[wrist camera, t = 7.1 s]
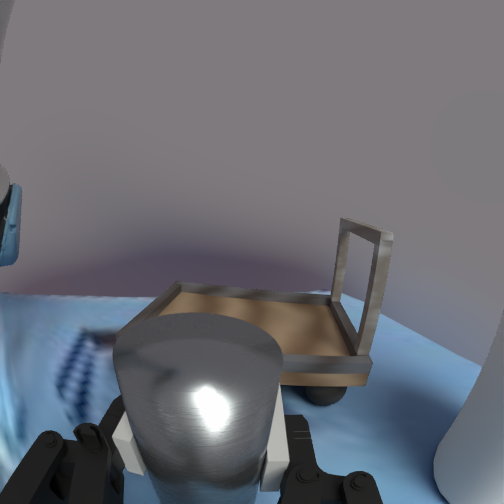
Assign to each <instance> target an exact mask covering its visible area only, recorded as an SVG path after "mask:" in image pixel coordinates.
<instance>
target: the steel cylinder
mask: <svg viewBox="0 0 504 504" xmlns="http://www.w3.org/2000/svg"><path fill="white" fill-rule="evenodd" d="M113 363H114V368H115V372H116V377H117V381H118V385H119V389H120V393H121V397H122V400H123V404H124V407H125V411H126V414H127V418H128V421H129V424H130V427H131V430H132V433H133V436H134V439H135V442H136V445H137V448H138V450H139V453H140V456H141V458H142V461H143V463H144V466H145V468H146V471H147V473H148V476H149V478H150V480H151V482H152V485H153V487H154V489H155V491H156V493H157V496H158V498H159V500H160V502H161V504H254V502H255V498H256V494H257V490H258V486H259V481H260V477H261V473H262V468H263V464H264V460H265V455H266V450H267V446H268V441H269V436H270V431H271V426H272V421H273V416H274V411H275V405H276V400H277V394H278V389H279V383H280V377H281V371H282V365H283V354H282V350H281V348H280V346H279V344H278V343H277V341H276V340H275V339H274V338H273V337H272V336H271V335H270V334H268V333H267V332H266V331H264V330H263V329H261V328H259V327H258V326H256V325H254V324H251V323H249V322H246V321H244V320H241V319H237V318H234V317H229V316H225V315H219V314H211V313H193V312H189V313H174V314H167V315H162V316H157V317H154V318H150V319H147V320H145V321H142V322H140V323H138V324H136V325H134V326H132V327H131V328H129V329H128V330H126V331H125V332H124V333H123V334H122V335H121V336H120V337H119V338H118V340H117V342H116V343H115V346H114V349H113Z"/></svg>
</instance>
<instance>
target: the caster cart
mask: <svg viewBox="0 0 504 504" xmlns="http://www.w3.org/2000/svg"><path fill="white" fill-rule="evenodd" d="M350 232H352V233H354V234H356V235H358V236H360V237H362V238H364V239H366V240H368V241H370V242H372V243H374V244H375V245H374V252H373V259H372V265H371V272H370V277H369V284H368V289H367V294H366V300H365V304H364V309H363V314H362V318H361V323H360V327H359V331H358V334H357V332H356V330H355V328H354V326H353V325H352V323H351V321H350V319H349V317H348V315H347V314H346V312H345V310H344V308H343V306H342V305H341V303H340V298H341V293H342V287H343V280H344V273H345V267H346V260H347V252H348V244H349V236H350ZM393 236H394V233H391V232H388V231H385V230H383V229H380V228H377V227H374V226H371V225H367V224H364V223H361V222H358V221H355V220H352V219H348V218H341V220H340V229H339V238H338V246H337V255H336V262H335V270H334V277H333V284H332V290H331V295H321V294H307V293H294V292H281V291H280V292H279V291H269V290H257V289H247V288H237V287H227V286H217V285H207V284H198V283H190V282H181V281H176V282H175V283H174V284H173V285H172V286H170V287H169V288H168V289H167V290H165V291H164V292H163V293H162V294H161V295H160V296H159V297H157V298H156V299H155V300H154V301H153V302H152V303H150V304H149V305H148V306H147V307H146V308H145V309H144V310H142V311H141V312H140V313H139V314H138V315H137V316H136V317H134V318H133V319H132V320H131V321H130V322H129V323H128V324H127V325H125V326H124V327H123V328H122V329H121V330H120V331H119V332H118V333H116V340H118V338H119V337H120V336H121V335H122V334H123V333H124V332H125V331H126V330H128V329H129V328H131V327H132V326H134V325H136V324H138V323H140V322H142V321H145V320H147V319H150V318H154V317H157V316H162V315H167V314H174V313H189V312H193V313H211V314H219V315H225V316H229V317H234V318H237V319H241V320H244V321H246V322H249V323H251V324H254V325H256V326H258V327H259V328H261V329H263V330H264V331H266V332H267V333H268V334H270V335H271V336H272V337H273V338H274V339H275V340H276V341H277V343H278V344H279V346H280V348H281V350H282V354H283V365H282V371H281V377H280V385H296V386H305V391H306V394H307V396H308V398H309V399H310V400H311V401H312V402H314V403H316V404H318V405H324V406H326V405H331V404H334V403H336V402H338V401H339V400H340V399H341V398H342V397H343V396H344V394H345V392H346V389H347V386H365V385H366V382H367V379H368V376H369V373H370V370H371V367H372V364H373V362H372V360H371V358H370V357H369V352H370V349H371V345H372V342H373V338H374V334H375V330H376V326H377V322H378V318H379V314H380V310H381V305H382V301H383V296H384V291H385V286H386V281H387V275H388V270H389V263H390V257H391V251H392V244H393Z"/></svg>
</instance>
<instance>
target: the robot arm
mask: <svg viewBox="0 0 504 504" xmlns="http://www.w3.org/2000/svg"><path fill="white" fill-rule="evenodd" d="M14 2H15V0H0V61H1V55H2V49H3V44H4V39H5V35H6V30H7V26H8V22H9V19H10V15H11V12H12V8H13V5H14ZM21 204H22V189H21V186H19V185H16V184H15V183H14V184H12V185H10V182H9V175H8V172H7V170H6V169H5V168H4V167H3V166H2V165H1V164H0V267H2V266H8V265H12V264H14V263H15V262H16V260H17V258H18V254H19V242H20V223H21ZM309 431H310V430H309V425H308V422H307V420H306V419H305V418H304V417H303V415H284V412H283V404H282V397H281V389H280V383H279V389H278V394H277V400H276V405H275V411H274V416H273V421H272V426H271V431H270V436H269V441H268V446H267V450H266V455H265V460H264V464H263V468H262V473H261V477H260V491H263V492H271V491H279V489H280V494H281V496H280V498H279V501H278V503H277V504H383V502H382V499H381V496H380V494H379V491H378V488H377V485H376V482H375V480H374V478H373V476H372V475H370V474H369V473H367V472H363V471H355V472H352V473H350V474H348V475H347V476H338V475H332V474H328V473H326V472H324V471H322V470H321V469H320V468H319V467H318V465H317V462H316V458H315V453H314V449H313V444H312V439H311V435H310V432H309ZM73 433H74V434H75V436H76V438H77V440H78V441H74V440H66V439H63V438H62V436H61V435H60V434H59V433H58V432H56V431H52V430H50V431H45V432H42V433H41V434H40V435H39V436H38V438H37V439H36V441H35V442H34V443H33V445H32V446H31V448H30V449H29V451H28V452H27V453H26V455H25V456H24V458H23V459H22V461H21V462H20V464H19V465H18V467H17V468H16V470H15V471H14V473H13V474H12V476H11V477H10V479H9V481H8V482H7V484H6V485H5V487H4V489H3V490H2V492H1V493H0V504H123V494H124V475H123V473H122V471H123V469H124V466H125V467H126V469H127V471H129V472H132V473H136V474H139V475H143V476H144V473H145V470H146V468H145V466H144V463H143V461H142V458H141V456H140V453H139V450H138V448H137V445H136V442H135V439H134V436H133V433H132V430H131V427H130V424H129V421H128V418H127V414H126V411H125V407H124V404H123V400H122V397H121V395H120V396H119V397H117V398H116V399H114V400H113V402H112V403H111V405H110V407H109V409H108V410H107V412H106V414H105V415H104V417H103V418H102V420H101V422H100V424H99V425H98V426H97V425H95V424H92V423H83V424H80V425H78V426H77V427H76V428H75V429H74V431H73Z"/></svg>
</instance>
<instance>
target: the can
mask: <svg viewBox="0 0 504 504" xmlns="http://www.w3.org/2000/svg"><path fill="white" fill-rule="evenodd" d="M433 464H434V479H435V481H436V484H437V486H438V489H439V491H440V493H441V494H442V495H443V496H444V497H445V498H446V500H447V501H448V502H449V503H450V504H504V311H503V314H502V317H501V321H500V324H499V327H498V330H497V332H496V335H495V338H494V341H493V344H492V346H491V348H490V351H489V353H488V356H487V358H486V361H485V363H484V365H483V367H482V370H481V372H480V374H479V376H478V378H477V380H476V382H475V384H474V386H473V388H472V390H471V392H470V394H469V396H468V398H467V400H466V401H465V403H464V405H463V407H462V409H461V410H460V412H459V414H458V415H457V417H456V419H455V420H454V422H453V424H452V425H451V427H450V428H449V430H448V431H447V433H446V434H445V436H444V437H443V439H442V440H441V442H440V443H439V445H438V448H437V451H436V454H435V457H434V462H433Z"/></svg>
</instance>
